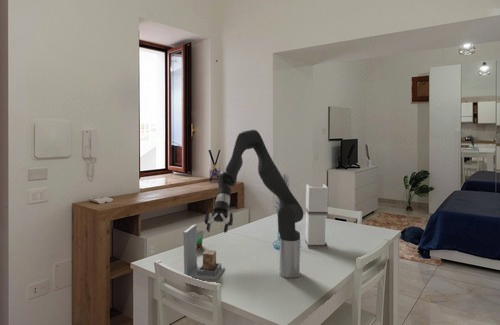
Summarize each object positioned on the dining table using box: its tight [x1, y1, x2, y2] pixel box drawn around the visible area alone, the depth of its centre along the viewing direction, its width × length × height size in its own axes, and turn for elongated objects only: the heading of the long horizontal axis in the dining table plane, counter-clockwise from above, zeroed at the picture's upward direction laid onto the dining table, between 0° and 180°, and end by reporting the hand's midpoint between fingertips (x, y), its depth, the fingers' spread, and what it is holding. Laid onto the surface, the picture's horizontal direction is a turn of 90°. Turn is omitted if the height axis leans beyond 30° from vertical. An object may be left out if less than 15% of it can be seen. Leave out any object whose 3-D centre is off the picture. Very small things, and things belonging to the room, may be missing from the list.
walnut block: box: [202, 249, 217, 271], centre depth 165 cm, size 5×6×9 cm
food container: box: [182, 229, 205, 250], centre depth 200 cm, size 12×6×10 cm, turn 105°
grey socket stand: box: [183, 224, 225, 281], centre depth 165 cm, size 16×13×21 cm
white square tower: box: [304, 183, 329, 249], centre depth 205 cm, size 11×11×35 cm
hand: (216, 231), depth 175 cm, fingers open, 8 cm apart
